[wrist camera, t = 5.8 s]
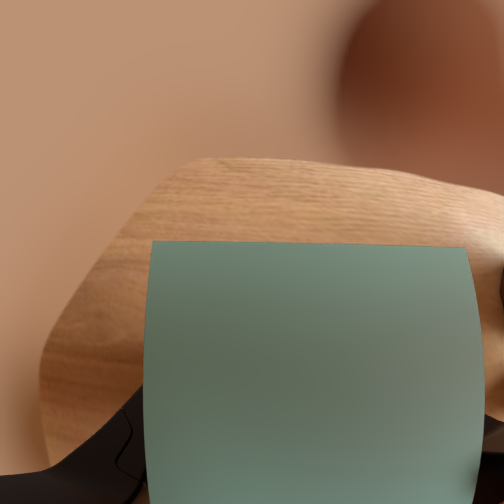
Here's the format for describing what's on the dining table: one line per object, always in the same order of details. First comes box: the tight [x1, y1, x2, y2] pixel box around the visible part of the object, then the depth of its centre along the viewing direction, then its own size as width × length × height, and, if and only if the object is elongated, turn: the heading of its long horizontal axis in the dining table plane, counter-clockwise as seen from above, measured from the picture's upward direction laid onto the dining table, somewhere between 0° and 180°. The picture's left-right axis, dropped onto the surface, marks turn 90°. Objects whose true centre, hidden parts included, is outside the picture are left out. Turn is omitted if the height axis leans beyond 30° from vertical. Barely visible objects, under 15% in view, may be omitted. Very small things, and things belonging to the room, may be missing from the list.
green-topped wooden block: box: [143, 241, 485, 504], centre depth 8 cm, size 4×4×12 cm
